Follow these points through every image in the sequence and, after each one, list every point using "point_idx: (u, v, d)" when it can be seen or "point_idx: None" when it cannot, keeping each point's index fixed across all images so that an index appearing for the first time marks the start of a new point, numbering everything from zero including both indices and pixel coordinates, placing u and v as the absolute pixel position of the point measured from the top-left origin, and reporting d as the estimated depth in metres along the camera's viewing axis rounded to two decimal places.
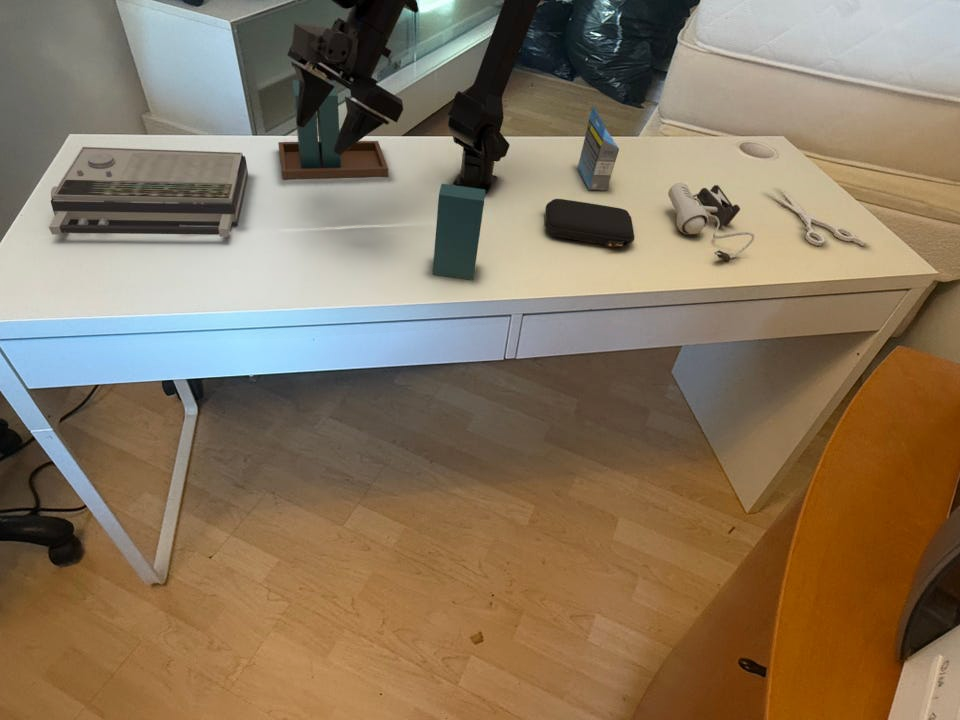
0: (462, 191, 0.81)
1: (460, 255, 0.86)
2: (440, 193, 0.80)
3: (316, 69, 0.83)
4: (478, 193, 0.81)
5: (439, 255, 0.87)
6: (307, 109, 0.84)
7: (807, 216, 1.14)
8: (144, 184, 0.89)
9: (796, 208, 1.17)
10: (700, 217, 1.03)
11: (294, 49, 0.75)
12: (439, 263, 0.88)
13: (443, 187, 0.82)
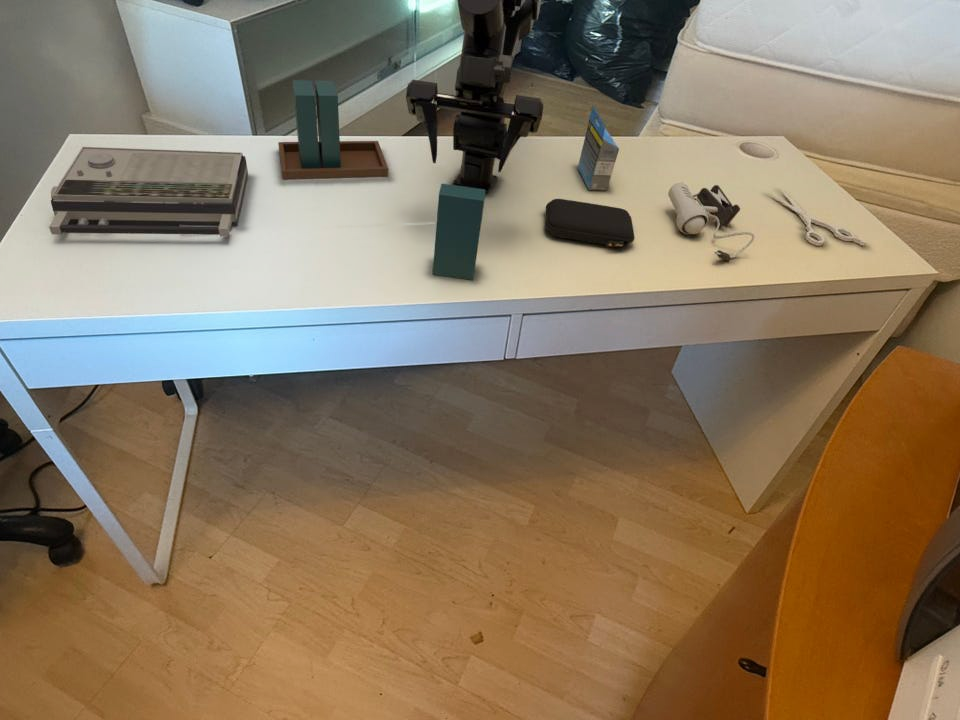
0: (462, 191, 0.81)
1: (460, 255, 0.86)
2: (440, 193, 0.80)
3: (436, 105, 0.85)
4: (478, 193, 0.81)
5: (439, 255, 0.87)
6: None
7: (807, 216, 1.14)
8: (144, 184, 0.89)
9: (796, 208, 1.17)
10: (700, 217, 1.03)
11: (468, 79, 0.78)
12: (439, 263, 0.88)
13: (443, 187, 0.82)
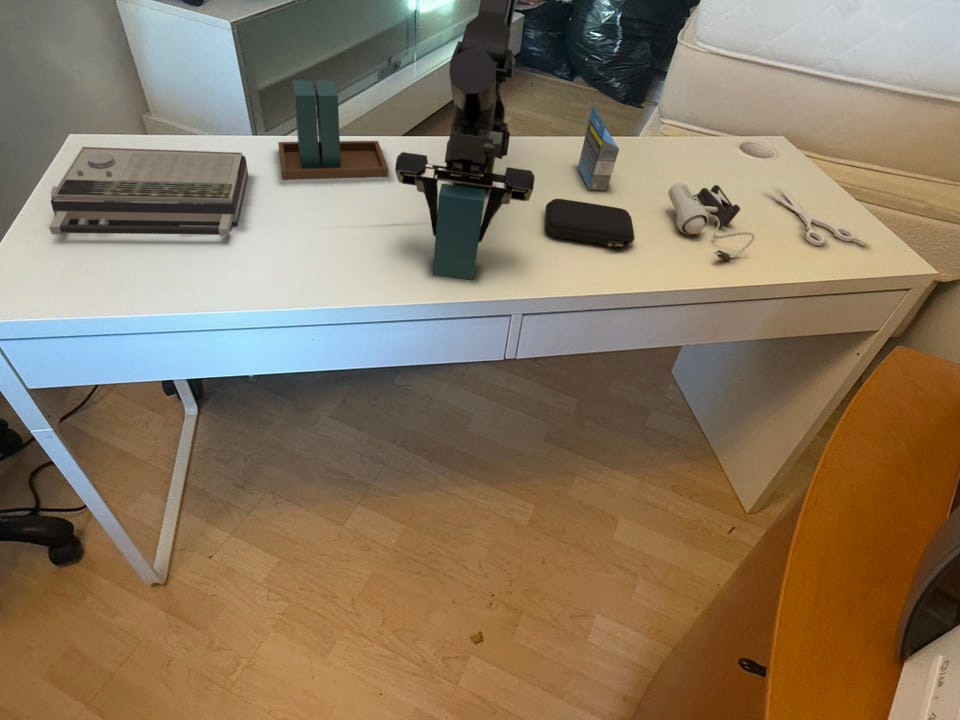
0: (462, 191, 0.81)
1: (460, 255, 0.86)
2: (440, 193, 0.80)
3: (437, 178, 0.84)
4: (478, 193, 0.81)
5: (439, 255, 0.87)
6: None
7: (807, 216, 1.14)
8: (144, 184, 0.89)
9: (796, 208, 1.17)
10: (700, 217, 1.03)
11: (457, 156, 0.77)
12: (439, 263, 0.88)
13: (443, 187, 0.82)
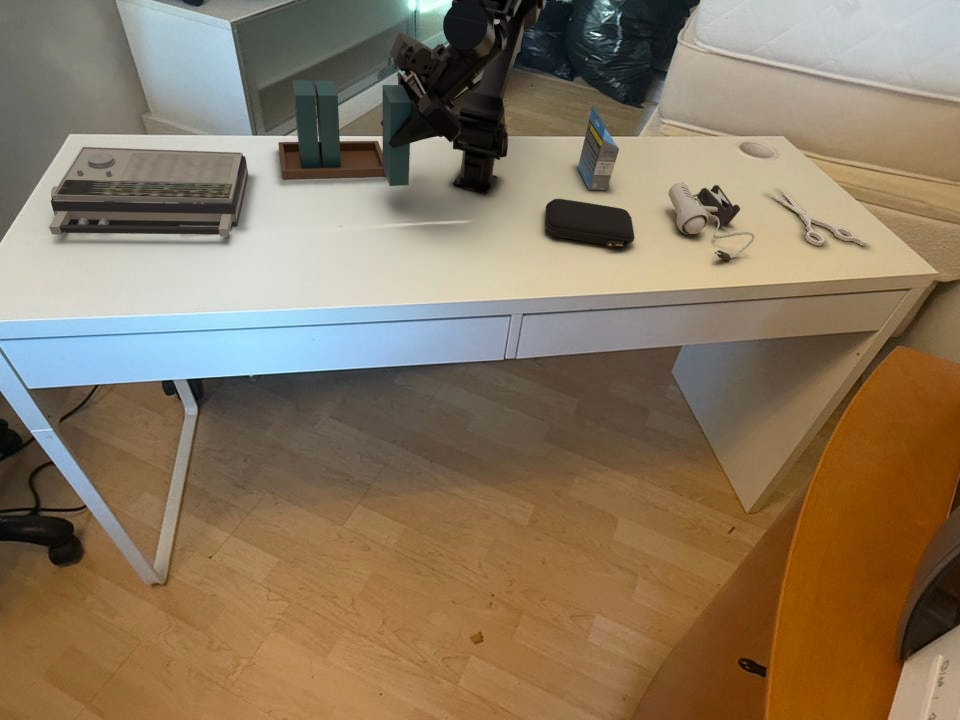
0: (397, 93, 0.88)
1: (387, 154, 0.93)
2: (384, 85, 0.89)
3: (415, 85, 0.92)
4: (399, 99, 0.86)
5: (383, 148, 0.95)
6: None
7: (807, 216, 1.14)
8: (144, 184, 0.89)
9: (796, 208, 1.17)
10: (700, 217, 1.03)
11: (391, 52, 0.85)
12: (383, 157, 0.96)
13: (396, 85, 0.90)
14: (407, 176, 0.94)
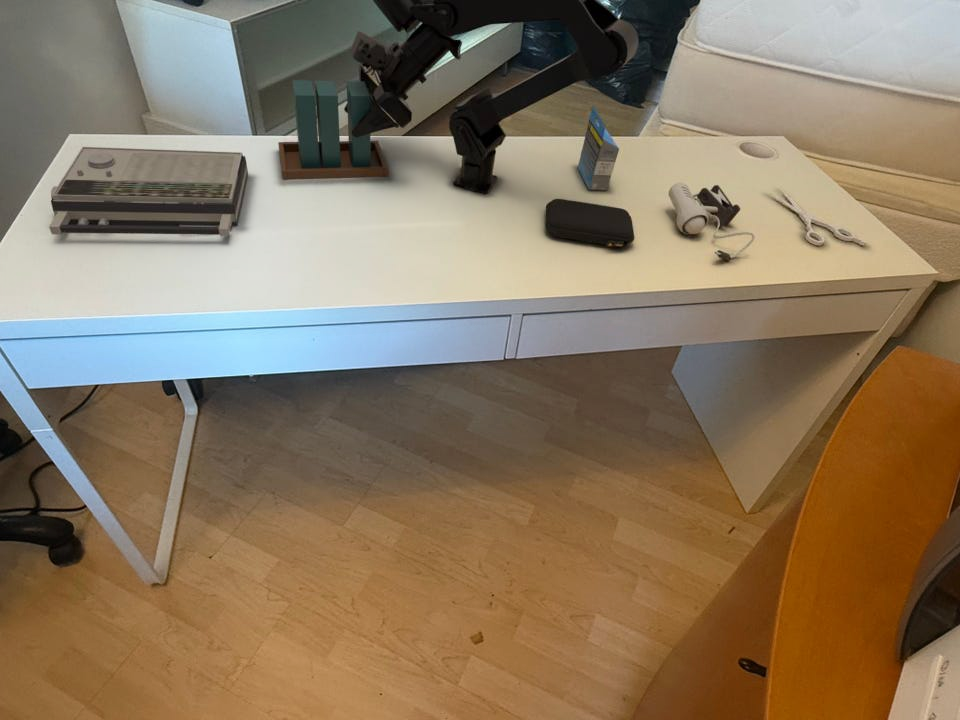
0: (358, 88, 1.00)
1: (351, 143, 1.05)
2: (348, 81, 1.02)
3: (374, 75, 1.05)
4: (360, 93, 0.99)
5: (349, 138, 1.08)
6: None
7: (807, 216, 1.14)
8: (144, 184, 0.89)
9: (796, 208, 1.17)
10: (700, 217, 1.03)
11: (351, 49, 0.97)
12: (349, 146, 1.09)
13: (358, 82, 1.02)
14: (369, 162, 1.06)
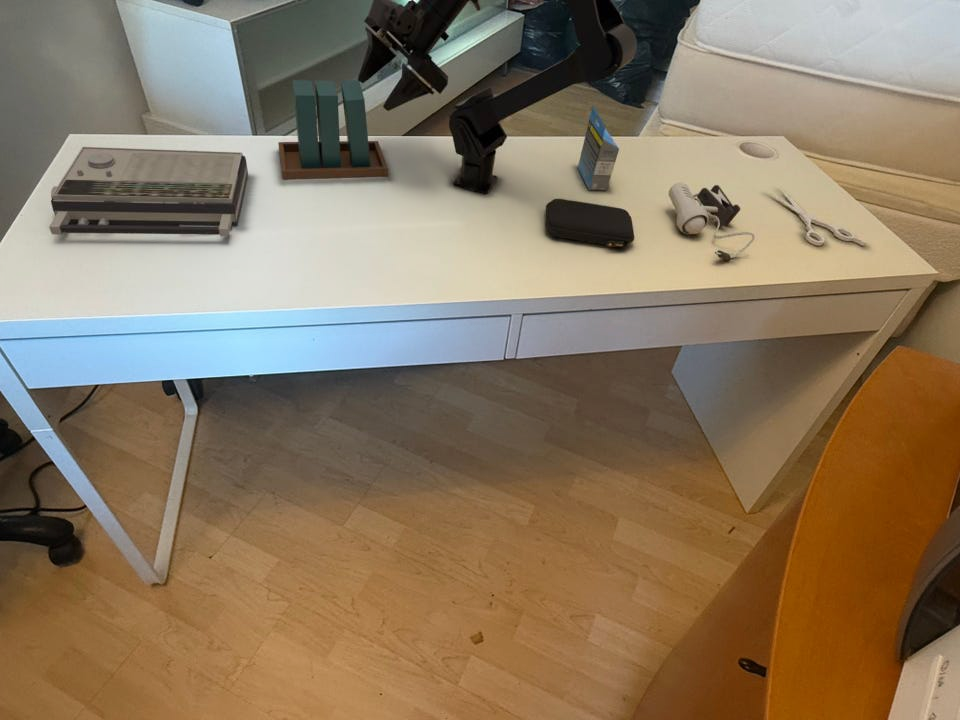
0: (352, 90, 0.99)
1: (349, 143, 1.05)
2: (342, 81, 1.00)
3: (384, 37, 0.98)
4: (354, 96, 0.97)
5: (347, 136, 1.07)
6: (369, 68, 1.00)
7: (807, 216, 1.14)
8: (144, 184, 0.89)
9: (796, 208, 1.17)
10: (700, 217, 1.03)
11: (370, 15, 0.90)
12: (348, 143, 1.08)
13: (352, 81, 1.00)
14: (368, 162, 1.06)
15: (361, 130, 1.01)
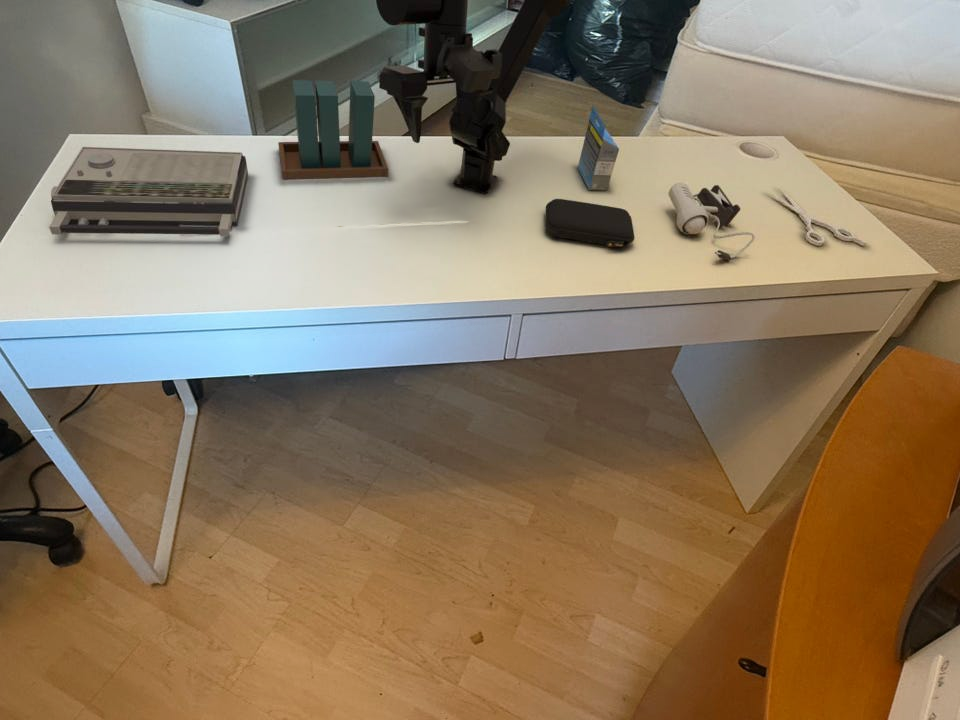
0: (362, 88, 1.00)
1: (352, 142, 1.05)
2: None
3: None
4: (364, 93, 0.99)
5: (349, 137, 1.08)
6: None
7: (807, 216, 1.14)
8: (144, 184, 0.89)
9: (796, 208, 1.17)
10: (700, 217, 1.03)
11: (473, 89, 0.83)
12: (349, 145, 1.09)
13: (362, 82, 1.02)
14: (369, 162, 1.06)
15: (367, 128, 1.02)
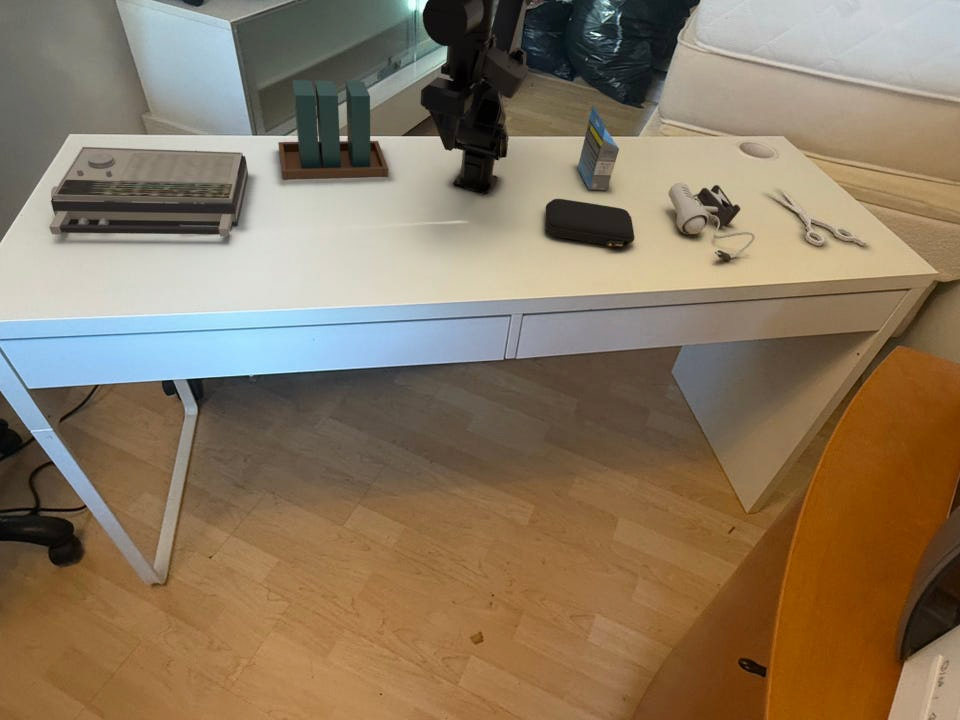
0: (358, 88, 1.00)
1: (350, 143, 1.05)
2: (347, 81, 1.02)
3: None
4: (360, 93, 0.99)
5: (348, 138, 1.08)
6: None
7: (807, 216, 1.14)
8: (144, 183, 0.89)
9: (796, 208, 1.17)
10: (700, 217, 1.03)
11: (513, 94, 0.85)
12: (348, 146, 1.09)
13: (357, 82, 1.02)
14: (369, 162, 1.06)
15: (364, 128, 1.02)
